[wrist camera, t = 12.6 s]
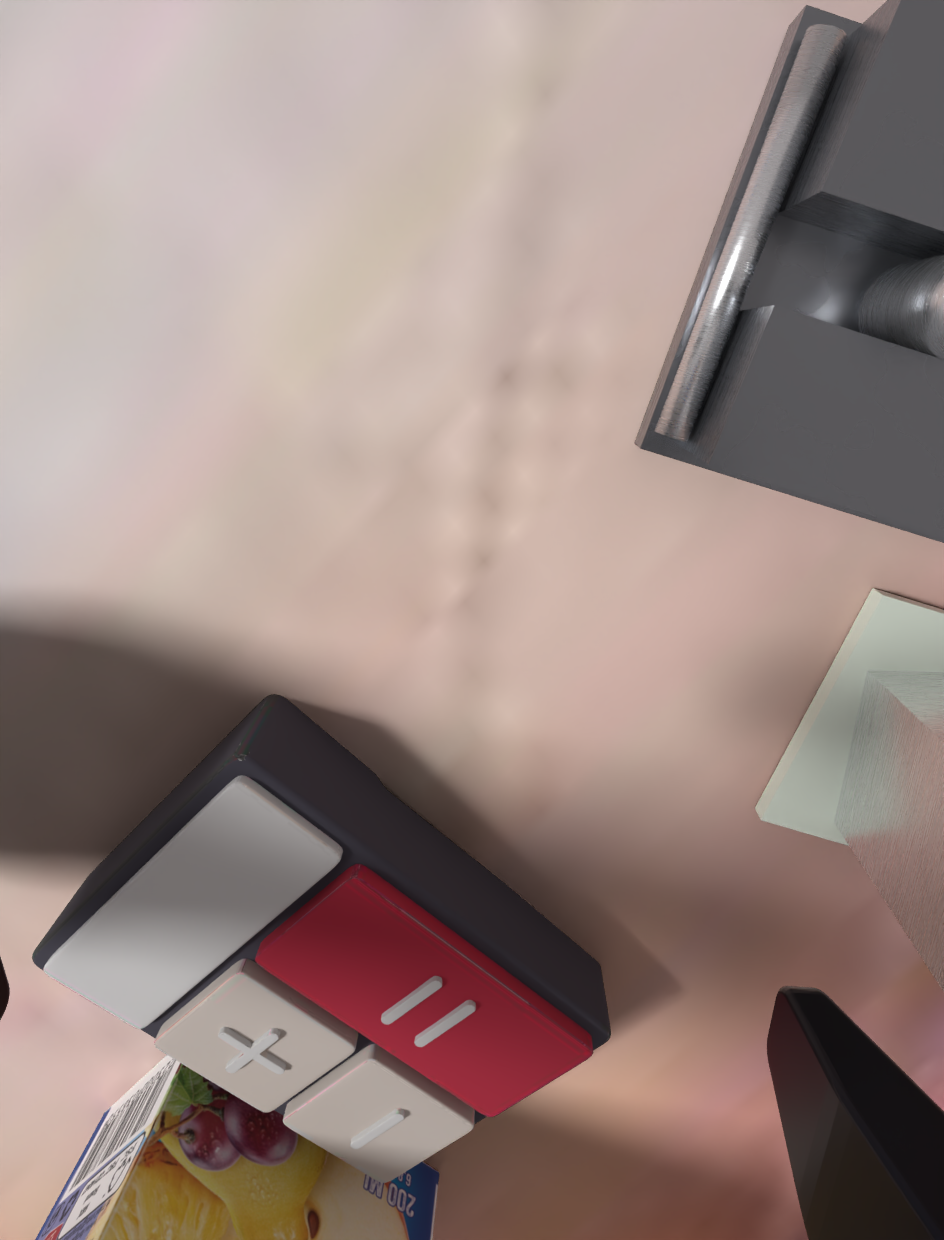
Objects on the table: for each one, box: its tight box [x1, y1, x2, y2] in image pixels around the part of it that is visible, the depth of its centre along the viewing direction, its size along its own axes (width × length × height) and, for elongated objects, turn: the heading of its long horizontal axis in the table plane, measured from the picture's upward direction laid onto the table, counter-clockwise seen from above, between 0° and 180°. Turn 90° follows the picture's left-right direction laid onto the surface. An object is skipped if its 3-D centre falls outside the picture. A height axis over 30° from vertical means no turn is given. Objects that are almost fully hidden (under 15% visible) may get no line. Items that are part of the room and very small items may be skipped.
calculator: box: [32, 695, 611, 1183], centre depth 24 cm, size 11×4×15 cm
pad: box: [755, 588, 944, 846], centre depth 21 cm, size 8×8×1 cm
